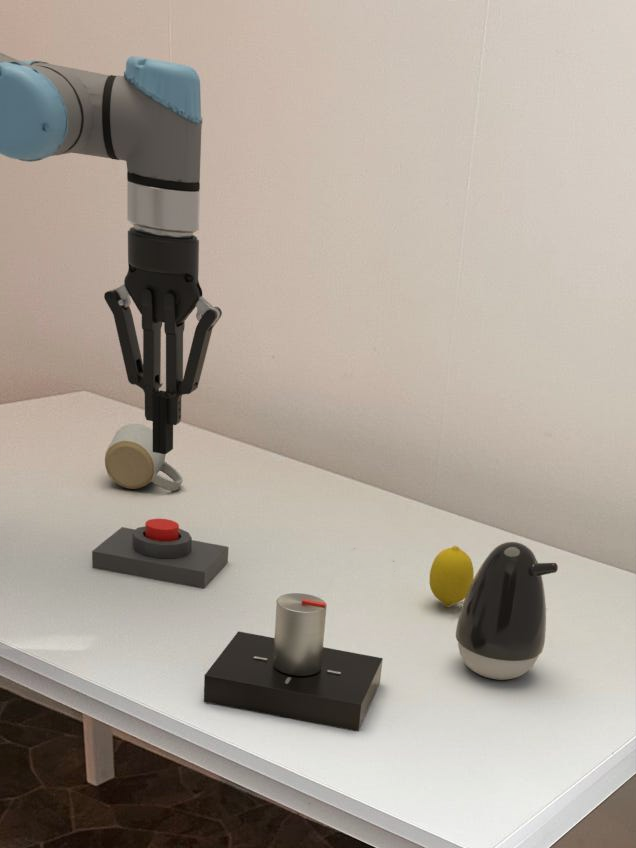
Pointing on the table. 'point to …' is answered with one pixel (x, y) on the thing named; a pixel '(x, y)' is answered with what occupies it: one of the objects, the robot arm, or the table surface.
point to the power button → (162, 530)
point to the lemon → (451, 576)
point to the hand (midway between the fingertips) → (162, 450)
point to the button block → (161, 557)
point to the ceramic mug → (138, 460)
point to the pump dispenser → (504, 613)
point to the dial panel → (293, 683)
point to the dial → (299, 634)
